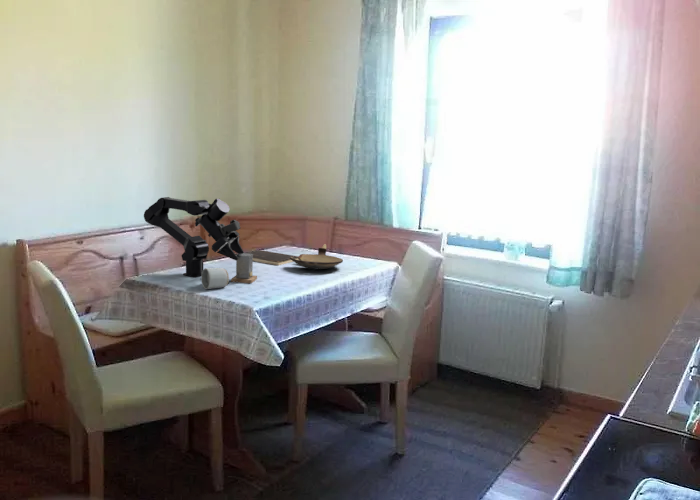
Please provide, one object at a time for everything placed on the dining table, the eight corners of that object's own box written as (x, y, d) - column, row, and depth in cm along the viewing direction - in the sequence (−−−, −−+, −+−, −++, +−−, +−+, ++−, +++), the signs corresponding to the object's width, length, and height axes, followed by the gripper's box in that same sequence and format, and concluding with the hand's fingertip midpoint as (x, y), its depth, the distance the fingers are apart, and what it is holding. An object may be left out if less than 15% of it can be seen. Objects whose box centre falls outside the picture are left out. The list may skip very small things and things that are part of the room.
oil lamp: (278, 269, 283) (279, 251, 281) (316, 259, 309) (316, 242, 307) (323, 277, 272) (324, 258, 271) (359, 265, 298) (359, 248, 297)
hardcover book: (278, 266, 291) (278, 261, 290) (237, 259, 302) (237, 254, 302) (299, 261, 304) (300, 256, 304) (260, 254, 316) (260, 249, 315)
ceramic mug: (230, 288, 247) (230, 268, 246) (209, 291, 242) (209, 270, 241) (217, 283, 255) (217, 263, 254) (197, 285, 251) (196, 265, 249)
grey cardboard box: (235, 278, 259) (235, 255, 257) (239, 275, 264) (239, 252, 262) (249, 279, 258) (249, 256, 256) (253, 276, 263) (253, 253, 261)
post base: (231, 281, 258) (231, 271, 257) (237, 277, 265) (237, 266, 265) (251, 283, 257) (251, 272, 256) (256, 278, 264) (257, 268, 264)
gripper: (220, 216, 248) (248, 248, 249) (234, 210, 266) (261, 239, 267) (199, 236, 250) (227, 267, 251) (215, 228, 269) (241, 257, 270)
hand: (240, 257), depth 260 cm, fingers open, 9 cm apart
